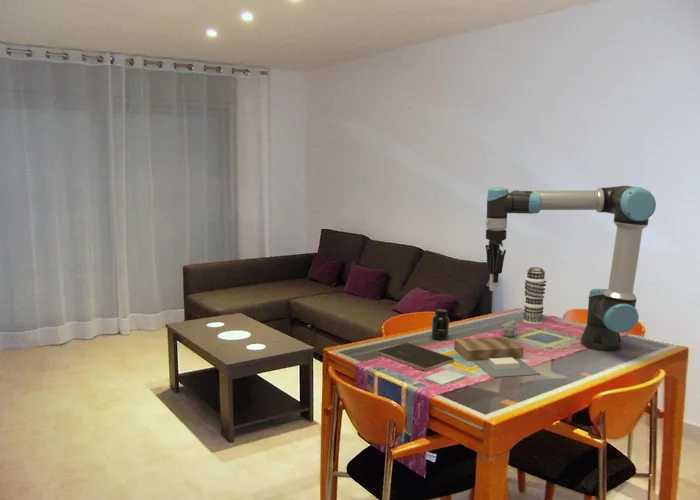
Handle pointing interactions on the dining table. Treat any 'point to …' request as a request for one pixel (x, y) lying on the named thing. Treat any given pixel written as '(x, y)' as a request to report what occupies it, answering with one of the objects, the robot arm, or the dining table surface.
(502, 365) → the cream rectangular block
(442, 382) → the hard drive
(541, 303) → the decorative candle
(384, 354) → the hardcover book
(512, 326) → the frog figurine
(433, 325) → the supplement bottle
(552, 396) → the dining table surface
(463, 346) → the brown wooden block
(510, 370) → the mat
